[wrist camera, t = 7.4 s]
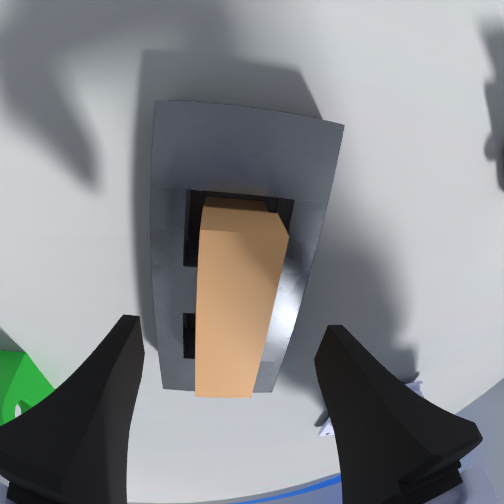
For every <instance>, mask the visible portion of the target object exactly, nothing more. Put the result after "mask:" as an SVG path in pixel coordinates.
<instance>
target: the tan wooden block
mask: <svg viewBox="0 0 504 504" xmlns="http://www.w3.org/2000/svg"><path fill="white" fill-rule="evenodd" d="M288 240H289V235H288V233H287V231H286V229H285V227H284V225H283V223H282V221H281V219H280V217H279V215H278V213H270V212H268V209H267V207H266V205H265V202H262V201H252V200H241V199H230V198H218V197H205V203H204V207H203V211H202V219H201V226H200V238H199V255H198V274H197V299H196V338H195V396H197V397H223V398H251V396H252V392H253V388H254V384H255V381H256V377H257V373H258V369H259V365H260V361H261V357H262V353H263V349H264V345H265V341H266V336H267V332H268V328H269V324H270V320H271V316H272V311H273V307H274V303H275V298H276V294H277V290H278V285H279V281H280V276H281V272H282V267H283V263H284V258H285V254H286V249H287V244H288Z"/></svg>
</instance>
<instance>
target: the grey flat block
mask: <svg viewBox="0 0 504 504" xmlns="http://www.w3.org/2000/svg"><path fill="white" fill-rule="evenodd" d="M343 131H344V125H342V124H338V123H334V122H330V121H326V120H322V119H317V118H312V117H307V116H302V115H297V114H291V113H286V112H280V111H273V110H267V109H260V108H253V107H245V106H236V105H227V104H216V103H204V102H188V101H156V105H155V115H154V127H153V141H152V159H151V186H150V243H151V271H152V289H153V304H154V316H155V327H156V337H157V346H158V355H159V363H160V370H161V377H162V384H163V389H172V390H184V391H195V338H196V328H186V313H195V314H196V299H197V274H198V255H199V241H196V240H188V231H189V212H190V197H191V190H203V191H215V192H227V193H238V194H248V195H258V196H267V197H276V198H280V199H279V204H278V210H277V213H278V215H279V217H280V219H281V221H282V223H283V225H284V227H285V229H286V231H287V233H288V235H289V240H288V244H287V249H286V254H285V258H284V263H283V267H282V272H281V276H280V281H279V285H278V290H277V294H276V298H275V303H274V307H273V311H272V316H271V320H270V324H269V328H268V332H267V336H266V341H265V345H264V349H263V353H262V357H261V361H260V365H259V369H258V373H257V377H256V381H255V384H254V388H253V392H252V393H264V392H272V391H273V388H274V385H275V382H276V380H277V377H278V374H279V371H280V368H281V365H282V362H283V359H284V356H285V353H286V350H287V347H288V343H289V340H290V337H291V334H292V331H293V328H294V324H295V321H296V318H297V315H298V311H299V308H300V305H301V301H302V298H303V294H304V291H305V288H306V284H307V281H308V277H309V273H310V270H311V266H312V263H313V259H314V255H315V252H316V248H317V244H318V240H319V236H320V232H321V228H322V224H323V220H324V216H325V212H326V208H327V204H328V200H329V196H330V191H331V187H332V183H333V178H334V174H335V169H336V165H337V160H338V155H339V150H340V146H341V141H342V136H343Z"/></svg>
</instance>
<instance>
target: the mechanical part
mask: <svg viewBox="0 0 504 504" xmlns="http://www.w3.org/2000/svg"><path fill="white" fill-rule="evenodd" d="M54 390H55V389H54V388H53V387H52V385H51V384H50V383H49V382H48V381H47V379H46V378H45V377H44V376H43V374H42V373H41V372H40V371H39V369H38V368H37V367H36V365H35V364H34V363H33V361H32V360H31V359H30V357H29V356H28V354H27V353H26V352H13V351H1V350H0V426H1V425H3V424H5V423H7V422H9V421H11V420H13V419H15V407H16V404H18V405H19V406H20V408H21V414H23V413H24V412H26V411H27V410H29V409H30V408H32V407H33V406H35V405H36V404H38V403H39V402H40V401H42V400H43V399H44V398H46V397H47V396H48V395H49V394H51V393H52V392H53V391H54Z"/></svg>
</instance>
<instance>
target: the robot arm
mask: <svg viewBox="0 0 504 504" xmlns="http://www.w3.org/2000/svg"><path fill="white" fill-rule="evenodd" d="M144 355H145V352H144V345H143V339H142V332H141V325H140V317H139V316H133V315H123V316H122V317H121V318H120V319H119V320H118V322H117V323H116V324H115V326H114V327H113V328H112V329H111V331H110V332H109V333H108V334H107V336H106V337H105V338H104V339H103V341H102V342H101V343H100V344H99V345H98V347H97V348H96V349H95V350H94V351H93V352H92V354H91V355H90V356H89V357H88V358H87V359H86V360H85V361H84V362H83V363H82V365H81V366H80V367H79V368H78V369H77V370H76V371H75V372H74V373H73V374H72V375H71V376H70V377H69V378H68V379H67V380H66V381H65V382H63V383H62V384H61V385H60V386H59V387H58V388H57V389H55V390H54V391H53V392H52V393H51V394H49V395H48V396H47V397H46V398H44V399H43V400H42V401H40V402H39V403H38V404H36V405H35V406H33V407H32V408H30V409H29V410H27V411H26V412H24V413H23V414H21V415H20V416H18V417H16V418H15V419H13V420H11V421H9V422H7V423H5V424H3V425H1V426H0V475H1V476H3V477H4V478H5V479H7V480H8V481H10V483H9V487H7V486H6V485H4V484H2V483H0V504H127V492H126V474H127V451H128V439H129V430H130V424H131V420H132V415H133V411H134V406H135V402H136V398H137V394H138V390H139V385H140V381H141V377H142V370H143V363H144ZM314 361H315V367H316V373H317V378H318V382H319V386H320V389H321V392H322V395H323V398H324V401H325V404H326V407H327V410H328V413H329V418H328V420H327V421H326V423H325V424H324V425H323V427H322V428H321V430H320V431H319V432H318V434H319V436H328V435H334V434H335V439H336V444H337V450H338V456H339V463H340V471H341V481H342V499H343V504H495V503H496V502H497V501H498V497H497V495H496V492H495V490H494V487H493V485H492V483H491V480H490V478H489V476H488V473H487V471H486V469H485V467H484V465H483V462H482V461H479V462H477V463H476V464H474V465H473V466H471V467H469V468H468V469H466V470H464V471H463V472H461V473H459V471H458V469H459V468H460V467H461V463H460V461H459V460H460V459H461V458H462V457H464V456H465V455H466V454H468V453H469V452H470V451H472V450H473V449H474V448H475V447H476V446H478V445H479V444H480V443H481V441H482V439H483V438H482V436H481V434H480V432H479V430H478V428H477V426H476V424H475V423H474V422H471V421H469V420H466V419H464V418H461V417H458V416H456V415H454V414H452V413H450V412H447V411H445V410H443V409H441V408H440V407H438V406H436V405H434V404H432V403H431V402H429V401H428V400H426V399H425V398H424V396H423V395H422V393H421V391H420V388H421V387H422V385H423V382H422V381H417V382H413V383H408V384H403V383H402V382H401V381H400V380H398V379H397V378H396V377H395V376H394V375H392V374H391V373H390V372H389V371H388V370H387V369H386V368H385V367H384V366H382V365H381V364H380V363H379V362H378V361H377V360H376V359H375V358H374V357H373V356H372V355H371V354H370V353H369V352H368V351H367V350H366V349H365V348H364V347H363V346H362V345H361V344H360V343H359V342H358V341H357V340H356V339H355V338H354V337H353V335H352V334H351V333H350V332H349V331H348V330H347V329H346V328H344V327H343V326H342V325H328V327H327V329H326V332H325V334H324V337H323V339H322V342H321V344H320V346H319V349H318V351H317V354H316V356H315V358H314Z"/></svg>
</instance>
